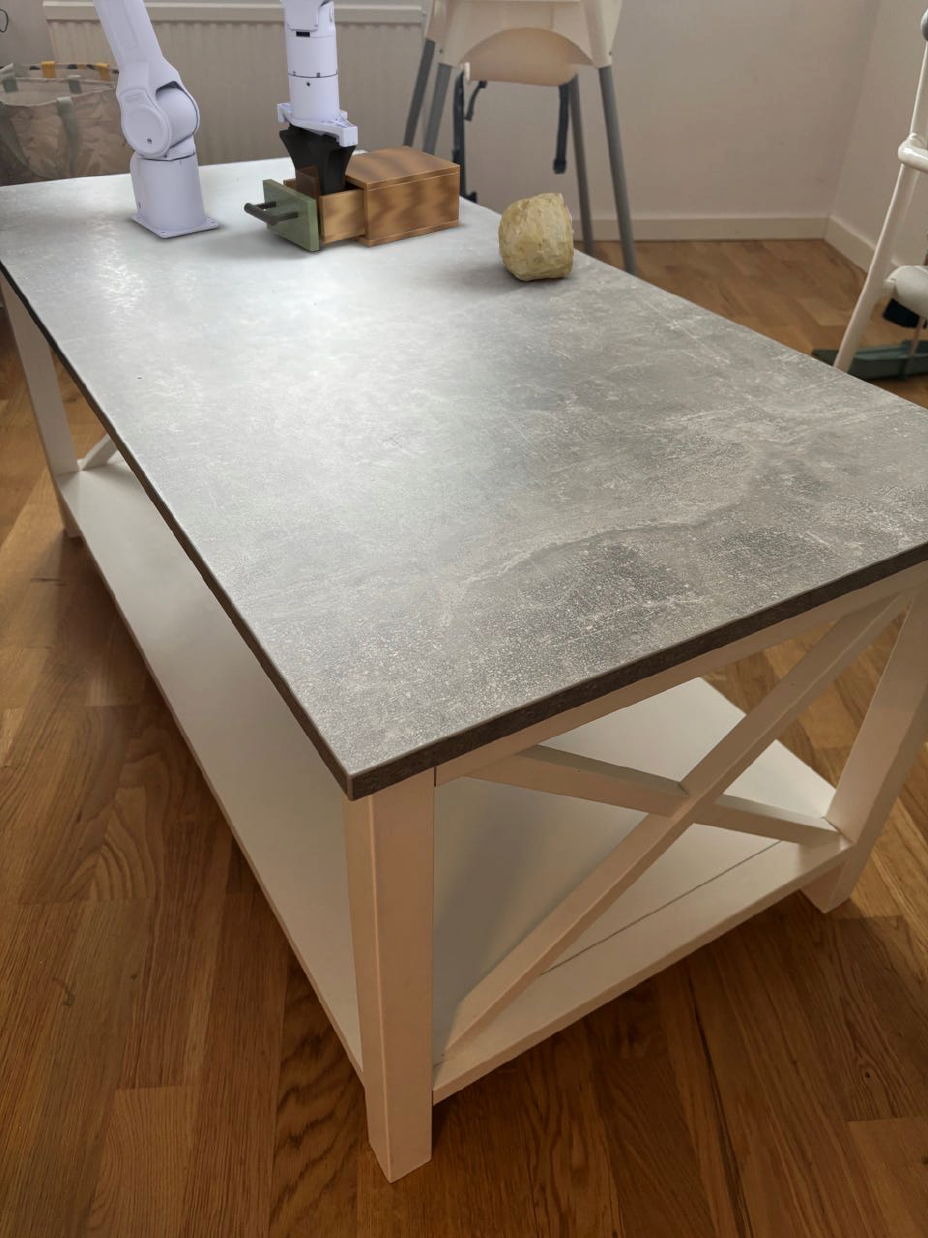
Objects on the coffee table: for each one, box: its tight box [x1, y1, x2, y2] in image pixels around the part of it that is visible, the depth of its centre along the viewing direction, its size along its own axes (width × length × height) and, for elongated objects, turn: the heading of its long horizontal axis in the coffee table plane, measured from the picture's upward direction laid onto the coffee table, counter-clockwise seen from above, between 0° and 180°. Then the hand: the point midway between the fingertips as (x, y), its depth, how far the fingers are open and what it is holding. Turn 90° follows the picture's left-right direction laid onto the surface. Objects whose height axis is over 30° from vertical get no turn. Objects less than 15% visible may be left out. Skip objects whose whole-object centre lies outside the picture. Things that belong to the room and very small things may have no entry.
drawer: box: [243, 177, 365, 252], centre depth 120 cm, size 18×10×6 cm, turn 129°
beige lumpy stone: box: [497, 192, 575, 282], centre depth 112 cm, size 10×10×10 cm
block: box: [294, 166, 345, 216], centre depth 119 cm, size 4×4×4 cm
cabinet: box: [345, 145, 461, 248], centre depth 125 cm, size 15×12×8 cm
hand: (321, 196), depth 119 cm, fingers closed on block, 4 cm apart
